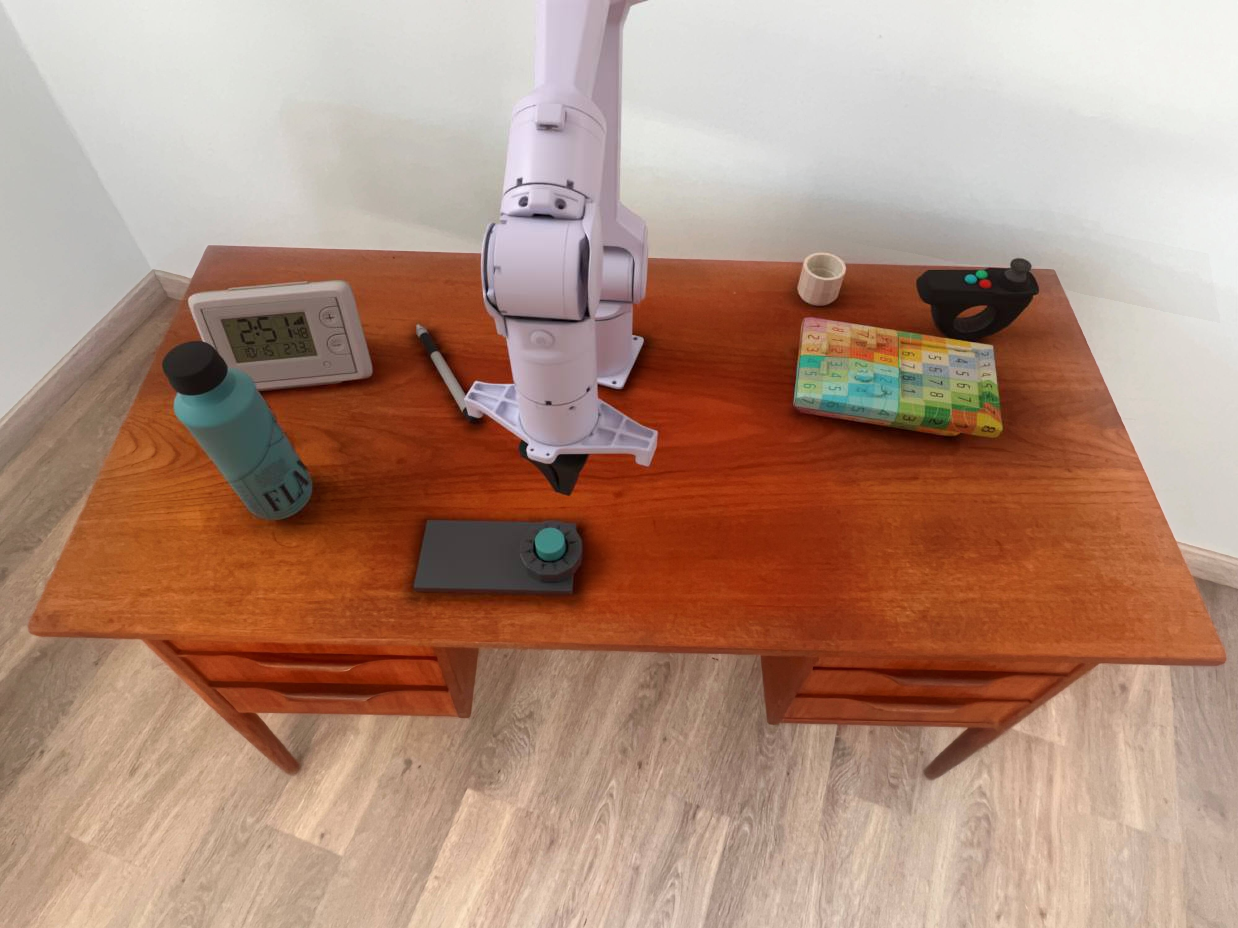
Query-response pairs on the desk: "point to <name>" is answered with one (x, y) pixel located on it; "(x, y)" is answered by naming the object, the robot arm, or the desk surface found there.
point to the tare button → (550, 544)
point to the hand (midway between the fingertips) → (566, 484)
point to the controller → (977, 298)
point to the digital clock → (286, 332)
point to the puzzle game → (897, 379)
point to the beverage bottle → (237, 431)
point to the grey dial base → (495, 558)
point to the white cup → (821, 278)
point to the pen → (444, 371)
